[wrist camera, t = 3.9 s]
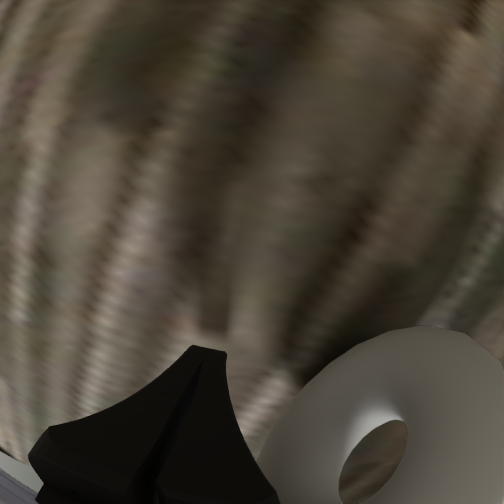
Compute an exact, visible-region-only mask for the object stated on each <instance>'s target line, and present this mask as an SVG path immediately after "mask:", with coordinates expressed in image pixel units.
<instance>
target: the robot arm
mask: <svg viewBox="0 0 504 504" xmlns="http://www.w3.org/2000/svg"><path fill="white" fill-rule="evenodd" d="M226 360H227V354H226V353H225V352H224V351H219V350H214V349H210V348H205V347H200V346H196V345H192V346H190V347H189V348H188V349H187V350H186V351H185V352H184V353H183V354H182V355H181V356H180V357H179V358H178V359H177V360H176V361H175V362H174V363H173V364H172V365H171V366H170V367H169V368H168V369H167V370H165V371H164V372H163V373H162V374H161V375H160V376H158V377H157V378H156V379H154V380H153V381H152V382H151V383H149V384H148V385H147V386H145V387H144V388H142V389H141V390H139V391H138V392H136V393H135V394H133V395H132V396H130V397H128V398H127V399H125V400H123V401H121V402H119V403H117V404H115V405H113V406H111V407H109V408H107V409H105V410H103V411H100V412H98V413H95V414H93V415H90V416H87V417H84V418H82V419H79V420H75V421H71V422H67V423H63V424H59V425H54V426H49V427H48V429H47V430H46V431H45V432H44V433H43V434H42V435H41V437H40V438H39V439H38V441H37V442H36V444H35V445H34V446H33V448H32V449H31V451H30V452H29V454H28V459H29V462H30V464H31V466H32V467H33V469H34V470H35V472H36V473H37V474H38V476H39V477H40V479H41V480H42V481H43V483H44V484H43V486H42V488H41V489H40V491H39V493H37V492H35V491H34V490H32V489H30V488H29V487H27V486H26V485H24V484H23V483H21V482H20V481H18V480H16V479H15V478H13V477H12V476H11V475H9V474H8V473H6V472H5V471H3V470H2V469H1V468H0V504H280V501H279V498H278V495H277V492H276V490H275V489H274V487H273V486H272V485H271V484H270V482H269V481H268V479H267V478H266V477H265V475H264V474H263V472H262V471H261V469H260V468H259V466H258V464H257V463H256V461H255V459H254V457H253V456H252V454H251V452H250V450H249V448H248V446H247V444H246V442H245V440H244V438H243V435H242V433H241V431H240V428H239V426H238V423H237V420H236V417H235V414H234V411H233V407H232V404H231V400H230V395H229V390H228V384H227V377H226Z"/></svg>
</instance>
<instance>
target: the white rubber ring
mask: <svg viewBox="0 0 504 504" xmlns="http://www.w3.org/2000/svg"><path fill="white" fill-rule="evenodd" d="M391 420H402V421H403V422H404V423H405V425H406V427H407V434H408V436H407V441H406V446H405V451H404V455H403V457H402V459H401V461H400V463H399V465H398V467H397V468H396V470H395V472H394V474H393V476H392V477H391V478H390V479H389V480H388V481H387V482H386V483H385V484H384V485H383V487H382V488H381V489H380V490H379V491H378V492H377V493H375V494H374V495H372V496H371V497H369V498H368V499H366V500H364V501H363V502H361V503H357V504H501V503H502V501H503V499H504V368H503V366H502V364H501V362H500V361H499V360H498V359H497V358H496V357H495V356H494V355H492V354H491V353H490V352H489V351H487V350H486V349H485V348H483V347H482V346H481V345H480V344H478V343H477V342H476V341H474V340H473V339H472V338H470V337H469V336H468V335H466V334H465V333H461V332H456V331H451V330H446V329H442V328H437V327H432V326H426V325H422V326H416V327H410V328H403V329H396V330H391V331H389V332H386V333H383V334H381V335H379V336H376V337H374V338H372V339H369V340H367V341H365V342H362V343H360V344H357V345H356V346H354V347H353V348H351V349H350V350H348V351H347V352H345V353H344V354H342V355H341V356H339V357H338V358H336V359H335V360H333V361H332V362H330V363H329V364H328V365H327V366H326V367H325V368H324V369H323V370H322V371H320V372H319V373H318V374H317V375H316V376H315V377H314V378H313V379H312V380H310V381H309V382H308V383H307V384H306V385H305V386H304V387H303V389H302V390H301V391H300V392H299V393H298V395H297V396H296V397H295V398H294V399H293V401H292V402H291V403H290V404H289V405H288V406H287V407H286V409H285V410H284V411H283V413H282V415H281V416H280V418H279V419H278V421H277V422H276V424H275V425H274V427H273V428H272V430H271V431H270V433H269V434H268V436H267V438H266V440H265V442H264V445H263V447H262V449H261V451H260V453H259V455H258V458H257V460H256V463H257V464H258V466H259V468H260V469H261V471H262V472H263V474H264V475H265V477H266V478H267V479H268V481H269V482H270V484H271V485H272V486H273V487H274V489H275V490H276V492H277V495H278V498H279V501H280V504H344V503H343V502H342V501H341V499H340V496H339V492H338V489H339V477H340V474H341V471H342V468H343V465H344V463H345V462H346V460H347V458H348V456H349V455H350V453H351V451H352V450H353V449H354V447H355V446H356V445H357V444H358V443H359V442H360V440H361V439H362V438H363V437H364V436H366V435H367V434H368V433H369V432H371V431H372V430H373V429H374V428H376V427H378V426H380V425H382V424H384V423H386V422H388V421H391Z"/></svg>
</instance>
